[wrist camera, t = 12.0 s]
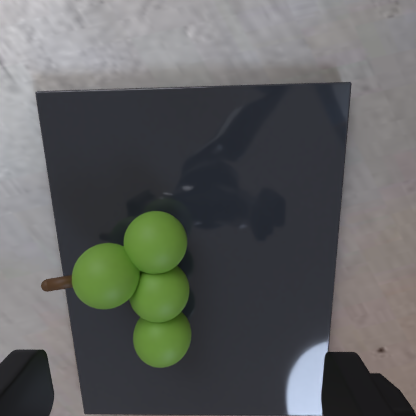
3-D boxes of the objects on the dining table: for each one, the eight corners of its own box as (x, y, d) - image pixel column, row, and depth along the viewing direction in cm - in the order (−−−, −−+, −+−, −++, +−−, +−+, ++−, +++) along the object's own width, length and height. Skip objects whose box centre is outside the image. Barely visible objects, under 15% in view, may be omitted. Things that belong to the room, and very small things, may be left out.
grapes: (177, 202, 15) (37, 216, 13) (193, 216, 12) (21, 236, 10) (184, 335, 16) (63, 365, 14) (199, 372, 14) (54, 414, 12)
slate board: (44, 93, 14) (34, 90, 13) (344, 84, 13) (352, 81, 13) (89, 403, 18) (83, 414, 17) (318, 404, 18) (323, 416, 17)
